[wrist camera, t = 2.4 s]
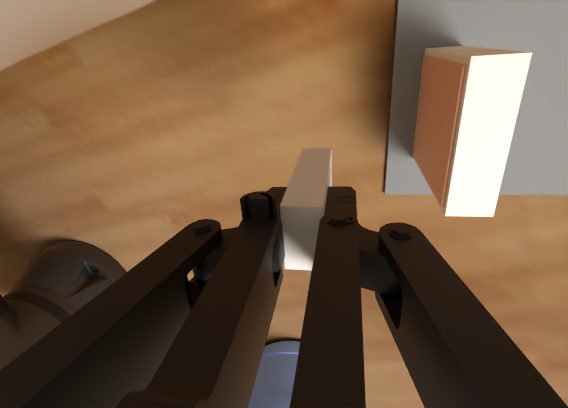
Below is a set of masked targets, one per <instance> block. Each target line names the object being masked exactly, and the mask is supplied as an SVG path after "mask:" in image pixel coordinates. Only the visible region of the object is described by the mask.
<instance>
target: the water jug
mask: <svg viewBox="0 0 568 408" xmlns="http://www.w3.org/2000/svg"><path fill="white" fill-rule="evenodd" d="M299 347H300V342H299V341H281V342H276V343H272V344H269V345H267V346H265V347H264V350H263V354H262V357H261V361H260V365H259V369H258V372H257V376H256V380H255V384H254V387H253V391H252V395H251V399H250V402H249V406H248V408H289V407H290V402H291V396H292V390H293V384H294V378H295V372H296V365H297V359H298V353H299Z"/></svg>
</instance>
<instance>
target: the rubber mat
mask: <svg viewBox="0 0 568 408" xmlns="http://www.w3.org/2000/svg"><path fill="white" fill-rule="evenodd" d="M451 46H471V47H481V48H492V49H502V50H512V51H523V52H532V56H531V60H530V64H529V69H528V73H527V77H526V81H525V85H524V90H523V94H522V98H521V102H520V106H519V111H518V115H517V119H516V123H515V127H514V132H513V136H512V140H511V144H510V148H509V153H508V157H507V161H506V165H505V170H504V174H503V178H502V182H501V186H500V191H499V195H568V0H398V5H397V19H396V34H395V48H394V62H393V77H392V91H391V106H390V120H389V134H388V149H387V163H386V178H385V192H384V193H385V194H394V195H433V193H432V191H431V189H430V188H429V186H428V184H427V182H426V180H425V178H424V177H423V175H422V173H421V171H420V169H419V168H418V166H417V164H416V162H415V160H414V157H413V148H414V138H415V129H416V119H417V110H418V100H419V91H420V81H421V72H422V62H423V55H425V48H436V47H451Z"/></svg>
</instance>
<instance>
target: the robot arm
mask: <svg viewBox="0 0 568 408" xmlns="http://www.w3.org/2000/svg"><path fill="white" fill-rule="evenodd" d="M240 204H241V211H242V217H243V219H242V221H241V223H240V225H239V226H238V227H235V228H230V229H223V230H221V225H220V223H219V222H218V221H216V220H211V219H202V220H198V221H196V222H193V223H191V224H189V225H188V226H186V227H185V228H184V229H183V230H181V231H180V232H179V233H177V234H176V235H175V236H173V237H172V238H171V239H170V240H168V241H167V242H166V243H164V244H163V245H162V246H160V247H159V248H158V249H157V250H155V251H154V252H153V253H151V254H150V255H149V256H148V257H146V258H145V259H144V260H142V261H141V262H140V263H138V264H137V265H136V266H135V267H133V268H132V269H131V270H129V271H128V272H127V273H126V272H125V271H124V269H123V268H122V267H121V266H120V265H119V264H118V263H117V262H116V261H115V260H114V259H113V258H112V257H110V256H109V255H108V254H106V253H105V252H103V251H101V250H100V249H98V248H96V247H93V246H91V245H88V244H86V243H82V242H78V241H59V242H56V243H53V244H51V245H49V246H48V247H47V248H45V249H44V250H42V251H41V252H40V253H38V254H37V255H36V256H35V257H34V258H33V259H32V261H31V263H30V264H29V266H28V268H27V269H26V270H25V272H24V273H23V274H22V276H21V277H20V278H19V280H18V281H17V282H16V284H15V285H14V287H13V288H12V290H11V291H10V292H9V293H8V294H6V295H5V296H4V297H2V296H1V295H0V408H248V406H249V402H250V399H251V395H252V391H253V387H254V384H255V380H256V376H257V372H258V369H259V365H260V361H261V357H262V354H263V350H264V346H265V342H266V339H267V335H268V331H269V327H270V324H271V320H272V316H273V312H274V309H275V305H276V301H277V297H278V294H279V290H280V286H281V282H282V279H283V271H282V264H283V261H284V262H285V269H296V270H312V273H311V279H310V285H309V291H308V297H307V304H306V310H305V316H304V322H303V328H302V334H301V341H300V347H299V353H298V359H297V365H296V372H295V378H294V384H293V390H292V396H291V402H290V407H289V408H366V404H365V379H364V355H363V331H362V306H361V287H362V288H365V289H369V290H372V291H375V297H376V300H377V302H378V304H379V306H380V309H381V311H382V313H383V315H384V318H385V320H386V322H387V324H388V327H389V329H390V331H391V333H392V336H393V338H394V340H395V342H396V344H397V347H398V349H399V351H400V353H401V356H402V358H403V360H404V362H405V365H406V367H407V369H408V371H409V374H410V376H411V378H412V380H413V382H414V385H415V387H416V389H417V391H418V394H419V396H420V398H421V400H422V403H423V405H424V407H425V408H568V406H567V405H566V404H565V403H564V402H563V400H562V399H561V398H560V397H559V396H558V394H557V393H556V392H555V391H554V390H553V388H552V387H551V386H550V385H549V384H548V382H547V381H546V380H545V379H544V378H543V376H542V375H541V374H540V373H539V372H538V371H537V369H536V368H535V367H534V366H533V365H532V363H531V362H530V361H529V360H528V359H527V357H526V356H525V355H524V354H523V353H522V351H521V350H520V349H519V348H518V347H517V345H516V344H515V343H514V342H513V341H512V340H511V338H510V337H509V336H508V335H507V334H506V332H505V331H504V330H503V329H502V328H501V326H500V325H499V324H498V323H497V322H496V320H495V319H494V318H493V317H492V316H491V314H490V313H489V312H488V311H487V310H486V308H485V307H484V306H483V305H482V304H481V303H480V301H479V300H478V299H477V298H476V297H475V295H474V294H473V293H472V292H471V291H470V289H469V288H468V287H467V286H466V285H465V283H464V282H463V281H462V280H461V279H460V277H459V276H458V275H457V274H456V273H455V272H454V270H453V269H452V268H451V267H450V266H449V264H448V263H447V262H446V261H445V260H444V258H443V257H442V256H441V255H440V254H439V252H438V251H437V250H436V249H435V248H434V246H433V245H432V244H431V243H430V242H429V241H428V239H427V238H426V237H425V236H424V235H423V233H422V232H421V231H420V230H419V229H417V228H416V227H414V226H412V225H409V224H406V223H390V224H386V225H384V226H382V227H381V228H380V230H379V232H376V231H372V230H368V229H366V228H364V227H362V226H361V225H360V224H359V223H358V220H357V209H356V191H355V190H354V189H353V188H352V187H333V186H332V148H321V149H302V152H301V154H300V157H299V159H298V162H297V164H296V167H295V169H294V172H293V174H292V177H291V179H290V182H289V184H288V187H272V188H270V189H269V190H268V191H266V192H263V191H260V192H252V193H248V194H246V195H244V196H242V197H241V198H240ZM191 270H193V274H194V277H193V278H192V279H191V280H190V281H189V280H188V278H187V275H188V273H189V272H190V271H191Z"/></svg>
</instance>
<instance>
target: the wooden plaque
mask: <svg viewBox="0 0 568 408" xmlns="http://www.w3.org/2000/svg"><path fill="white" fill-rule="evenodd" d="M531 56H532V52H523V51H512V50H502V49H492V48H481V47H471V46H451V47H436V48H425V55H423V62H422V72H421V81H420V91H419V100H418V110H417V119H416V129H415V138H414V148H413V157H414V160H415V162H416V164H417V166H418V168H419V169H420V171H421V173H422V175H423V177H424V178H425V180H426V182H427V184H428V186H429V188H430V189H431V191H432V193H433V195H434V197H435V198H436V200H437V202H438V204H439V206H440V207H441V209H442V211H443V213H444V215H445V216H480V217H493V216H494V212H495V207H496V203H497V199H498V195H499V191H500V186H501V182H502V178H503V174H504V170H505V165H506V161H507V157H508V153H509V148H510V144H511V140H512V136H513V132H514V127H515V123H516V119H517V115H518V111H519V106H520V102H521V98H522V94H523V90H524V85H525V81H526V77H527V73H528V69H529V64H530V60H531Z"/></svg>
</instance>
